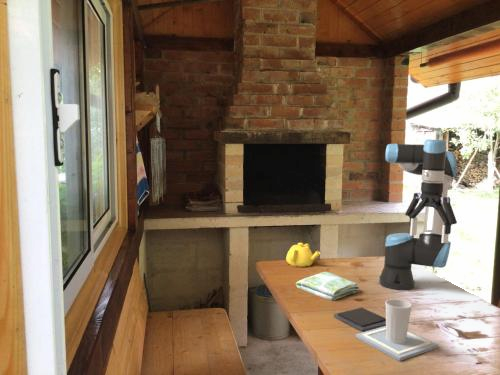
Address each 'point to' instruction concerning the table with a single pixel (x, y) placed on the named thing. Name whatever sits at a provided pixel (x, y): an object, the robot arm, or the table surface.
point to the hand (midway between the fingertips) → (428, 238)
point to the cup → (397, 320)
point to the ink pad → (361, 319)
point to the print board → (397, 351)
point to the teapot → (301, 255)
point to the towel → (327, 286)
